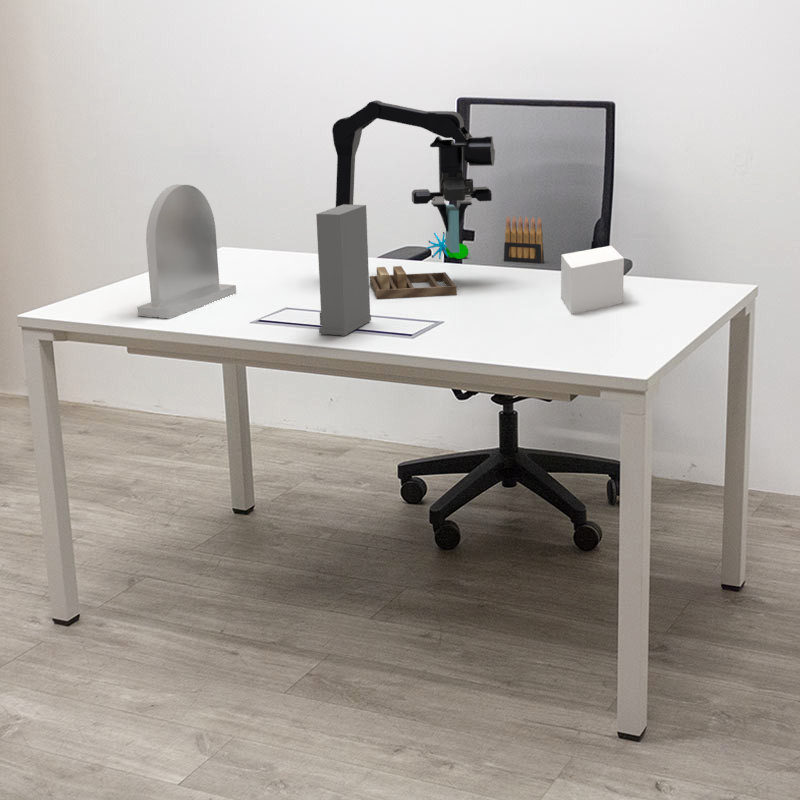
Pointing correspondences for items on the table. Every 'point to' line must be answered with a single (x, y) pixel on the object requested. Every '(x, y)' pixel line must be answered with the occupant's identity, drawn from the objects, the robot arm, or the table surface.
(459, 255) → the multicoloured piece
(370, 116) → the robot arm
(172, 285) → the award
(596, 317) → the table surface
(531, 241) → the ammunition clip
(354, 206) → the tall grey pillar
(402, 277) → the oak offcut
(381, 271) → the pine offcut
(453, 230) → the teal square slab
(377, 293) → the rack
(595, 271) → the white rectangular block
